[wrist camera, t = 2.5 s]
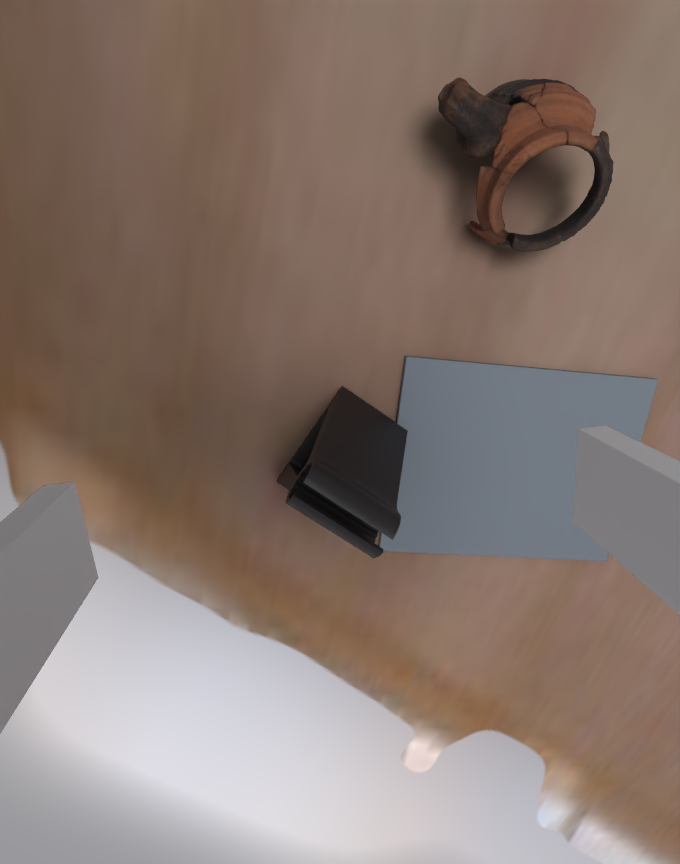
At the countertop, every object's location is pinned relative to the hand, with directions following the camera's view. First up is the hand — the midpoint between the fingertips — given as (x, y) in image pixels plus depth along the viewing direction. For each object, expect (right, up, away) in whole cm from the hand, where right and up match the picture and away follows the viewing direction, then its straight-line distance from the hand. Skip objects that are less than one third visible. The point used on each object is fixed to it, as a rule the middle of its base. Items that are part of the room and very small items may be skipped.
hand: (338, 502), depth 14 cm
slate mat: (+14, -1, +28) cm, 32 cm away
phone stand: (0, 0, +27) cm, 27 cm away
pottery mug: (+11, +20, +22) cm, 32 cm away
